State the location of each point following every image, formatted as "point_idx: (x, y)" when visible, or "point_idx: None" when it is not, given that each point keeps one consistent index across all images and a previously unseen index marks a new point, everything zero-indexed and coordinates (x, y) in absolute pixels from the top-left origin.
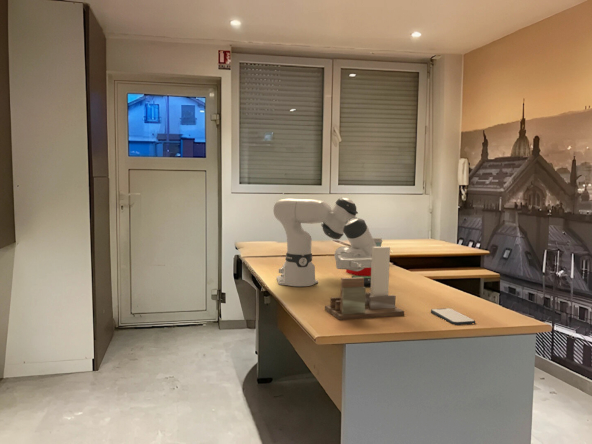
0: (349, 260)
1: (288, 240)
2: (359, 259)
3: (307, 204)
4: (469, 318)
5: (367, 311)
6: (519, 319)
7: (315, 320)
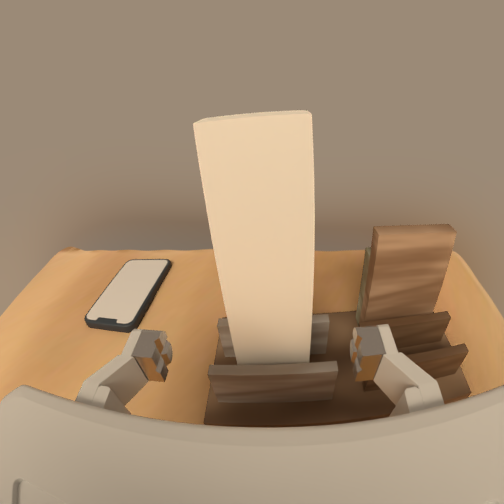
0: (456, 401)
1: None
2: (333, 426)
3: None
4: (123, 268)
5: (342, 328)
6: (53, 268)
7: (476, 311)
